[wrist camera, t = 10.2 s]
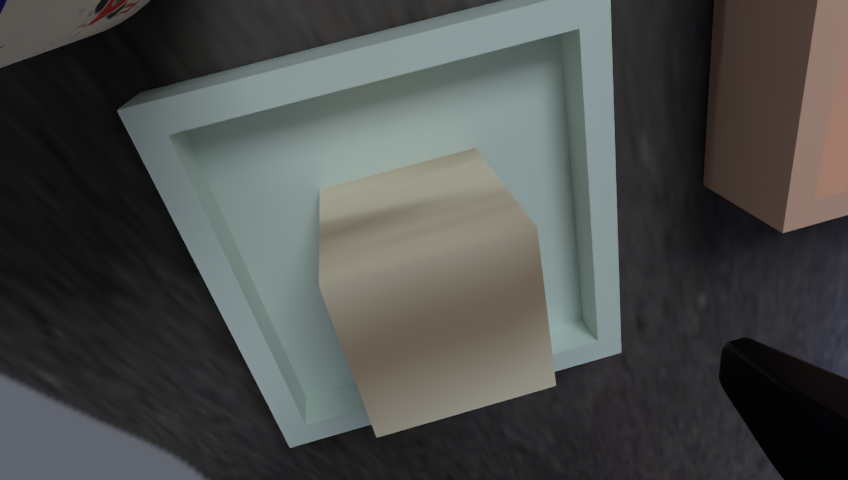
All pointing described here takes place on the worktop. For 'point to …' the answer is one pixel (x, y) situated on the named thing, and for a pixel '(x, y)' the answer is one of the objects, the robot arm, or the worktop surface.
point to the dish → (779, 109)
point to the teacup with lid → (55, 23)
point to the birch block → (434, 290)
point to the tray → (383, 151)
